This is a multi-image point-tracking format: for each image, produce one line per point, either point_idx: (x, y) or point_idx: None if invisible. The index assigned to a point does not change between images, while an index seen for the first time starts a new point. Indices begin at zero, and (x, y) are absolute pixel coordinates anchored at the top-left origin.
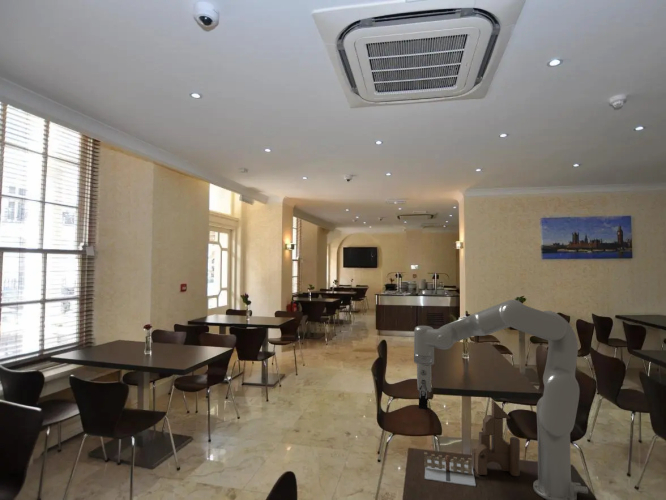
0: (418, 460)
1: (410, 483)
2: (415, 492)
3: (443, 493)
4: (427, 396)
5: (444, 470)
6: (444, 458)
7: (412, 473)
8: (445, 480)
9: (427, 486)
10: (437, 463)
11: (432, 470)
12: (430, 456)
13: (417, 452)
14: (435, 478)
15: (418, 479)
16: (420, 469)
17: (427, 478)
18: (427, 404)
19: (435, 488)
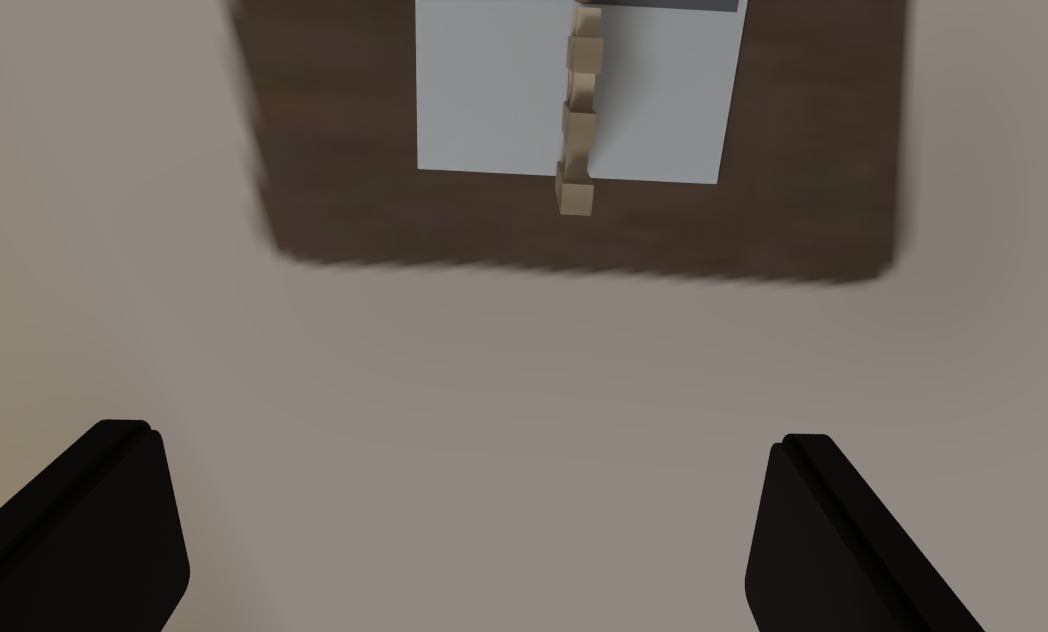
0: (444, 224)
1: (776, 279)
2: (883, 246)
3: (897, 47)
4: (82, 470)
5: None
6: (588, 10)
7: (645, 267)
8: (732, 17)
9: (808, 164)
10: (468, 70)
11: None
12: (571, 150)
13: (314, 231)
14: (711, 100)
15: (721, 226)
16: None
17: (717, 163)
18: (879, 507)
19: (832, 106)
